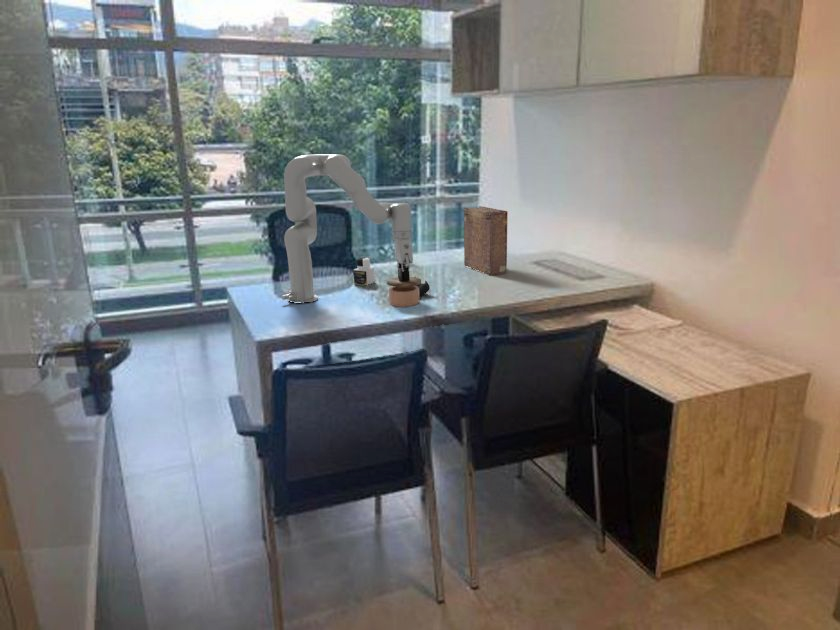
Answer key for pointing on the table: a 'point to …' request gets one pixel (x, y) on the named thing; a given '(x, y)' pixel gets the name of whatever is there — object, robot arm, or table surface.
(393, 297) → the terracotta bowl
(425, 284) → the gaming controller
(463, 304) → the table surface
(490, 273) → the brown lidded box
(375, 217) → the robot arm
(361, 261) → the medicine bottle
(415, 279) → the walnut lid
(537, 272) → the table surface
